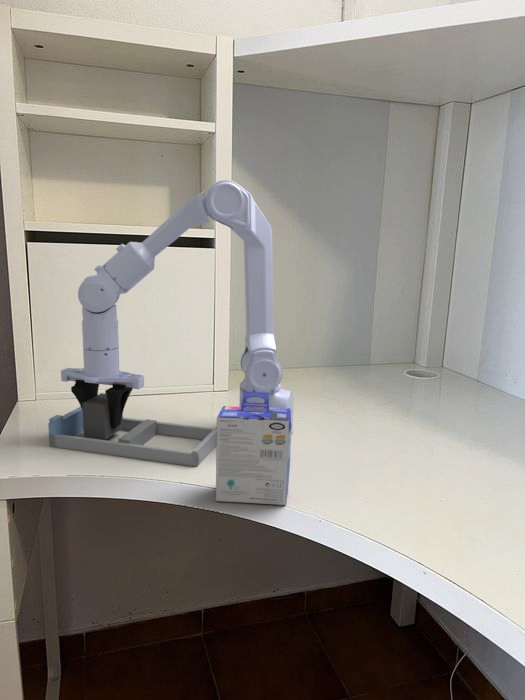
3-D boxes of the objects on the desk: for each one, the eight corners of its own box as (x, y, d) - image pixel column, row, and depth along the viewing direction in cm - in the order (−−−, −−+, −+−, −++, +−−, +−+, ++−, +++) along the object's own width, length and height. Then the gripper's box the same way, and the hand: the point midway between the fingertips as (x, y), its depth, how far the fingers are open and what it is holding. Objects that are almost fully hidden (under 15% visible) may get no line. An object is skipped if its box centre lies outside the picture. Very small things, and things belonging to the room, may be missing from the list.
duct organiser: (221, 440, 96) (221, 414, 95) (196, 466, 85) (197, 438, 84) (88, 423, 102) (87, 399, 101) (49, 446, 91) (48, 419, 90)
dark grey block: (122, 428, 97) (122, 395, 96) (105, 440, 91) (104, 405, 90) (102, 425, 98) (101, 393, 96) (83, 437, 92) (82, 403, 91)
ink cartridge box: (288, 488, 79) (293, 391, 76) (288, 506, 73) (292, 403, 70) (220, 484, 79) (221, 387, 76) (214, 502, 74) (215, 399, 71)
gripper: (48, 348, 89) (52, 427, 92) (129, 356, 86) (131, 437, 89) (73, 340, 96) (76, 414, 99) (149, 347, 92) (150, 423, 95)
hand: (103, 424), depth 94 cm, fingers closed on dark grey block, 4 cm apart
